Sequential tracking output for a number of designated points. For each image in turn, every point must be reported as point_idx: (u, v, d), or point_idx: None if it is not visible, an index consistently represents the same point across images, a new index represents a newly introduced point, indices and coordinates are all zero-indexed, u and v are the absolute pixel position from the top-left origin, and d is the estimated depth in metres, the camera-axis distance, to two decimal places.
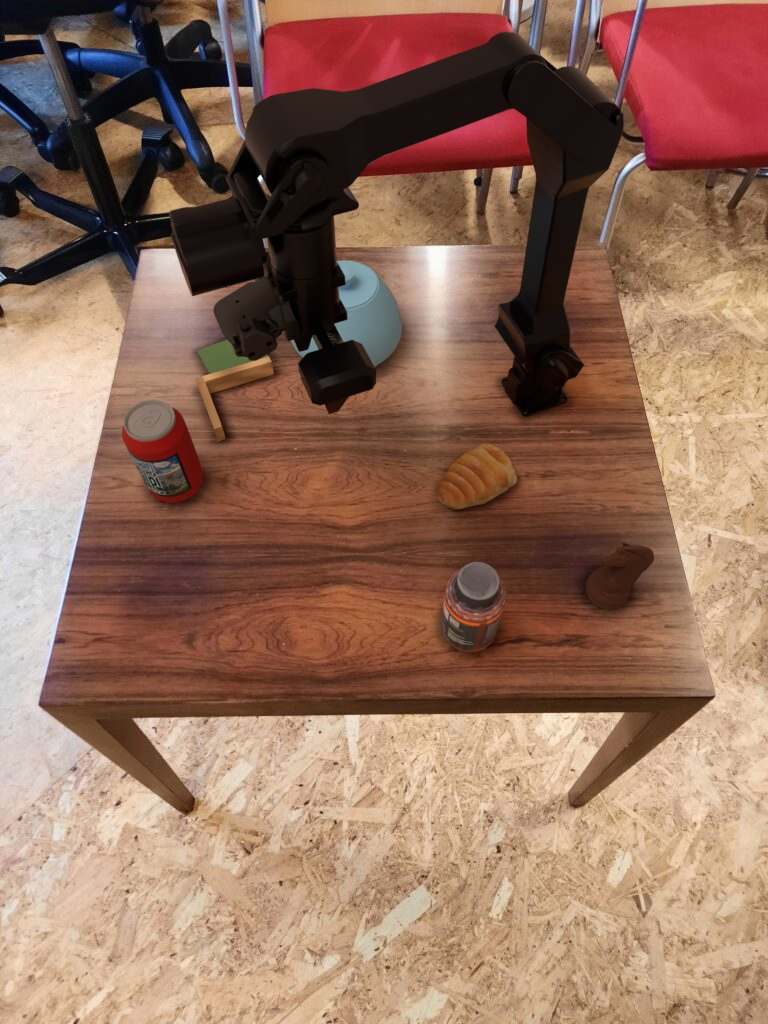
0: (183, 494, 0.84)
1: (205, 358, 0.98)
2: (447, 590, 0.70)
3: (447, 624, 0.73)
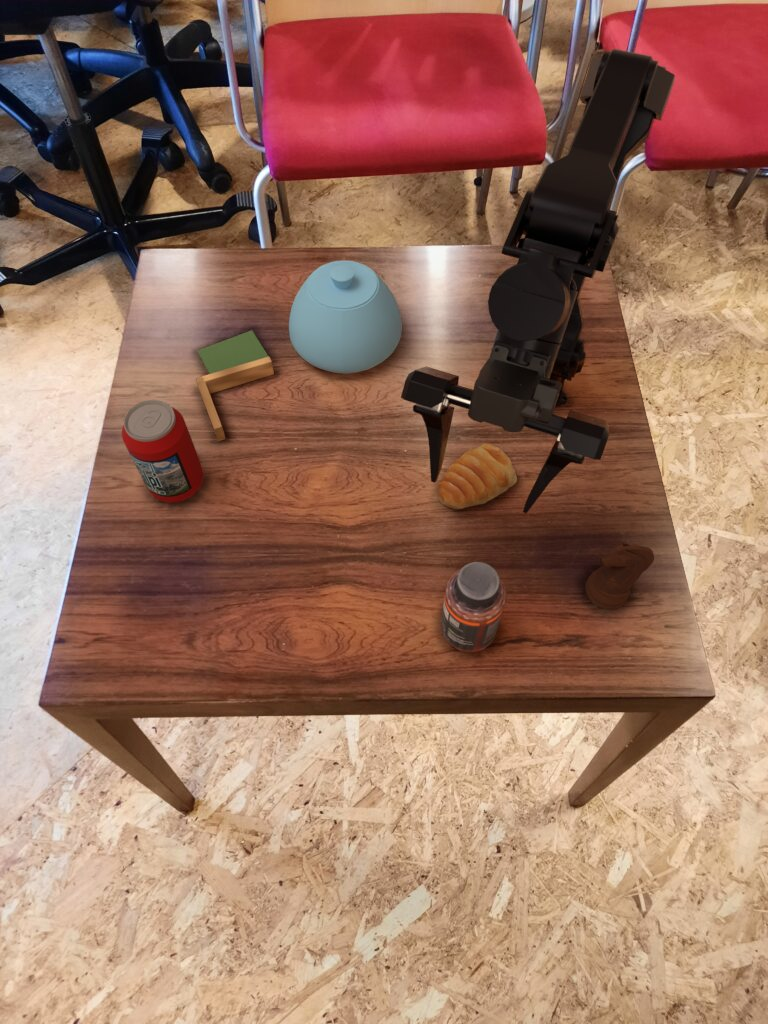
0: (183, 494, 0.84)
1: (205, 358, 0.98)
2: (447, 590, 0.70)
3: (447, 624, 0.73)
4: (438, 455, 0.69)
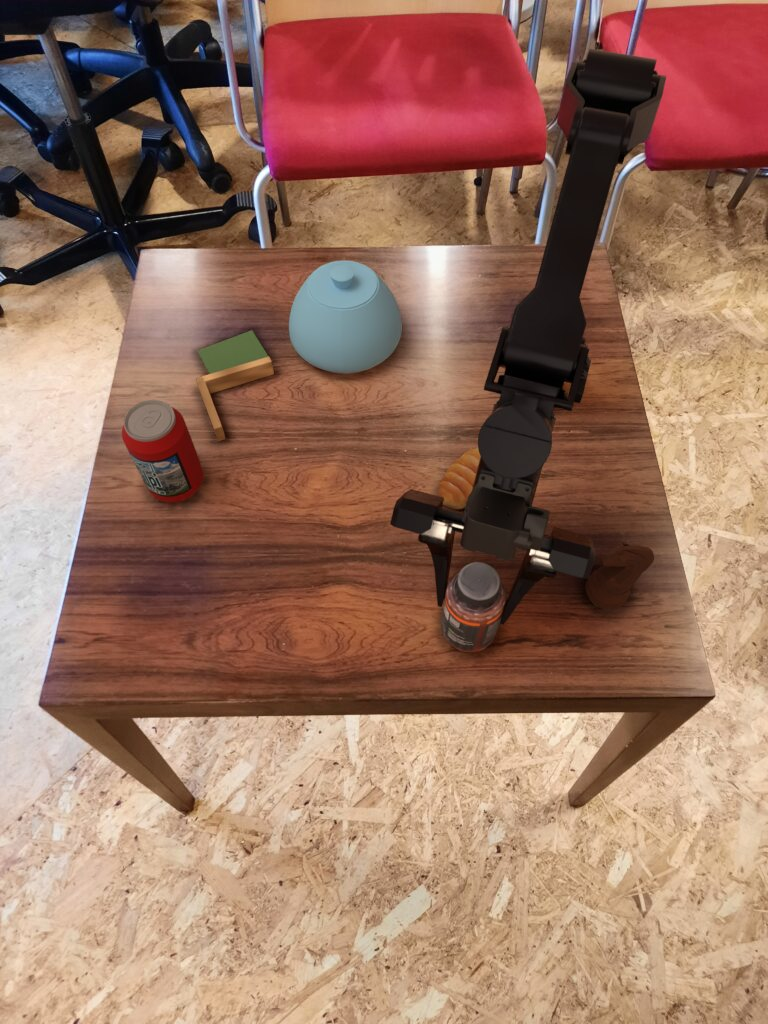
0: (183, 494, 0.84)
1: (205, 358, 0.98)
2: (447, 590, 0.70)
3: (447, 624, 0.73)
4: (444, 581, 0.70)
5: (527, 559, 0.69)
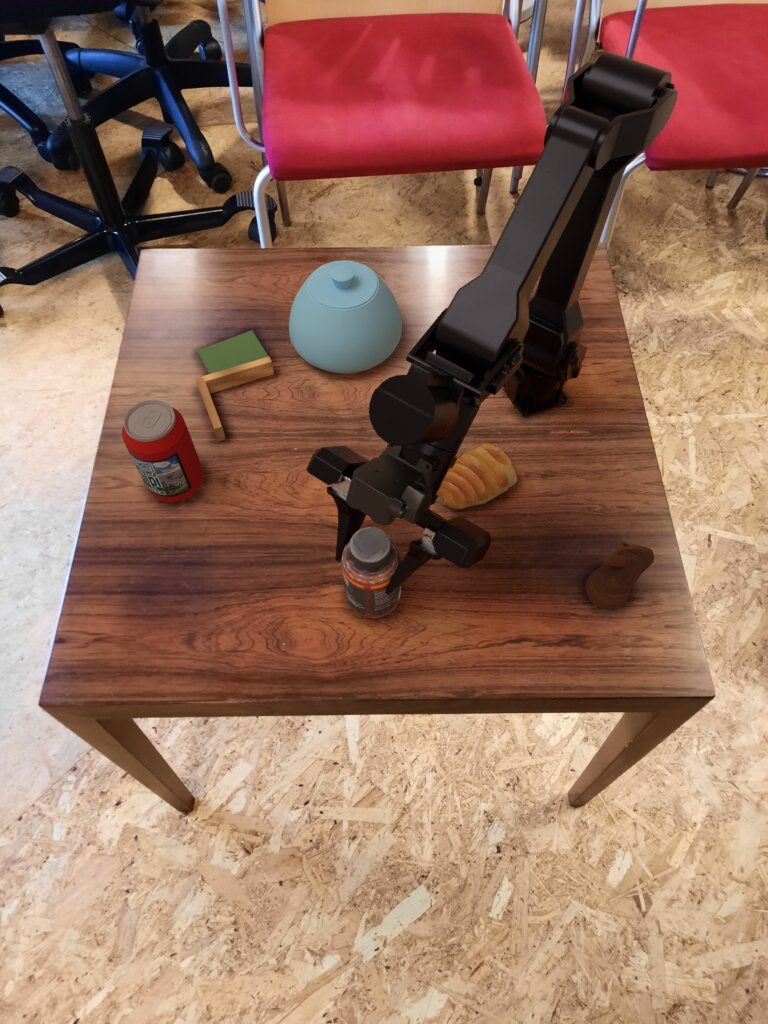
0: (183, 494, 0.84)
1: (205, 358, 0.98)
2: (345, 547, 0.73)
3: (344, 581, 0.76)
4: (344, 537, 0.73)
5: None
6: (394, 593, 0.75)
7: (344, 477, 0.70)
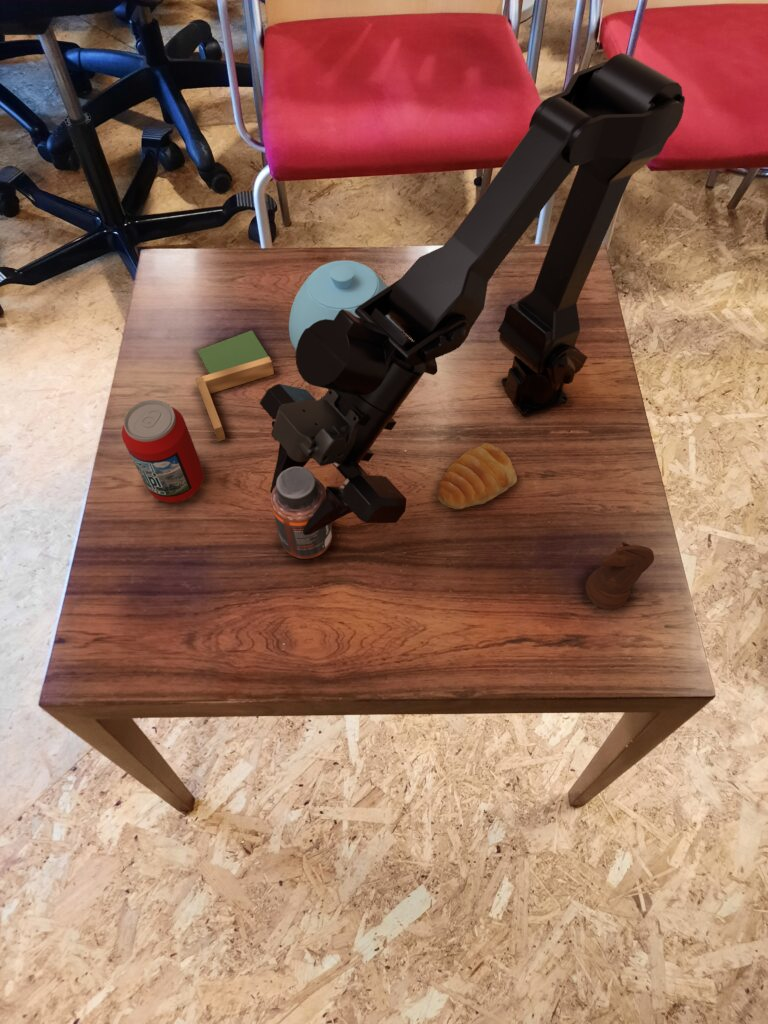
0: (183, 494, 0.84)
1: (205, 358, 0.98)
2: None
3: None
4: (280, 472, 0.77)
5: None
6: (317, 537, 0.79)
7: None
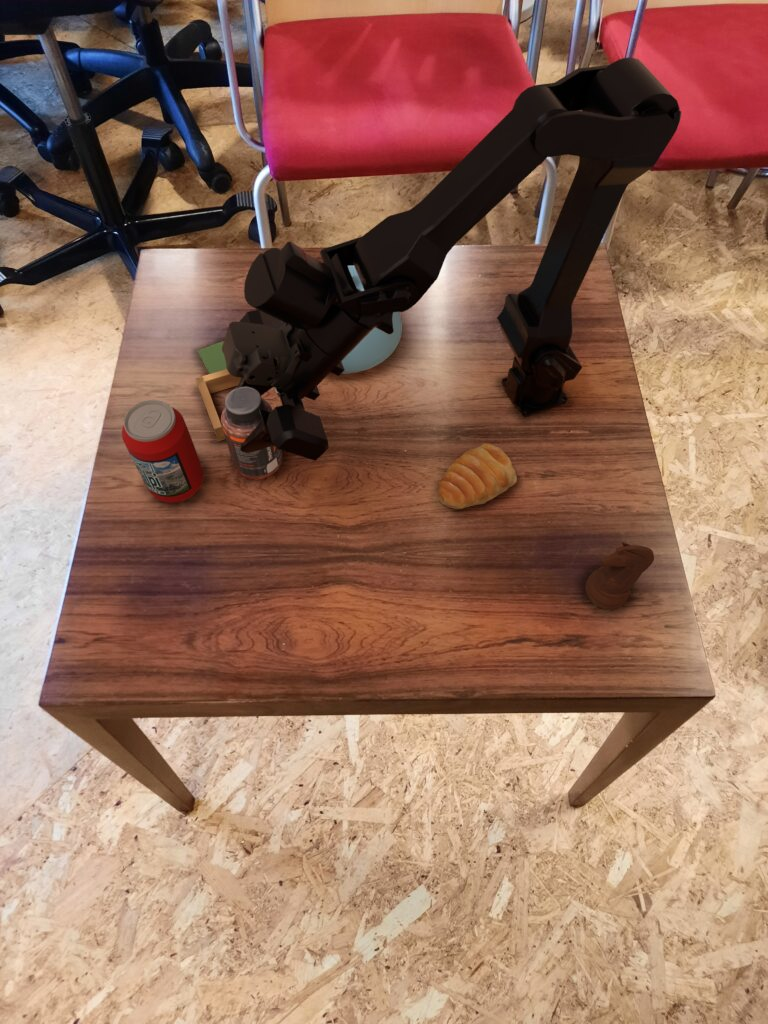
0: (183, 494, 0.84)
1: (205, 358, 0.98)
2: None
3: None
4: None
5: None
6: (257, 459, 0.84)
7: None
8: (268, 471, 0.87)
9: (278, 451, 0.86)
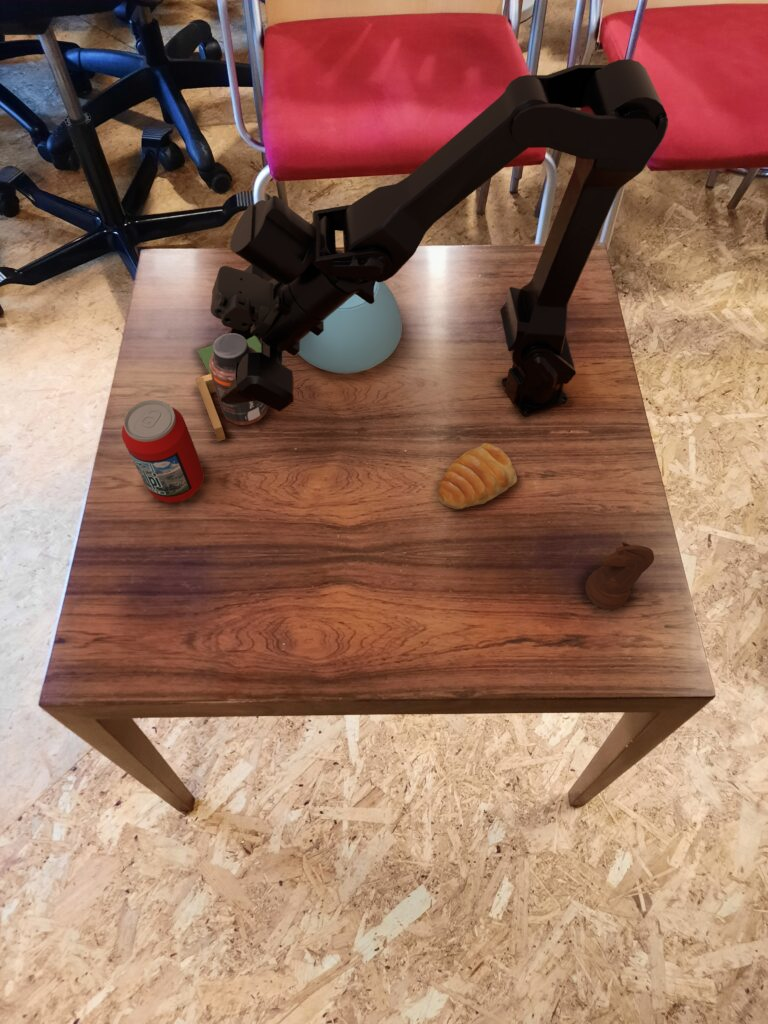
0: (183, 494, 0.84)
1: (205, 358, 0.98)
2: None
3: None
4: None
5: None
6: (237, 405, 0.88)
7: None
8: (249, 419, 0.91)
9: None
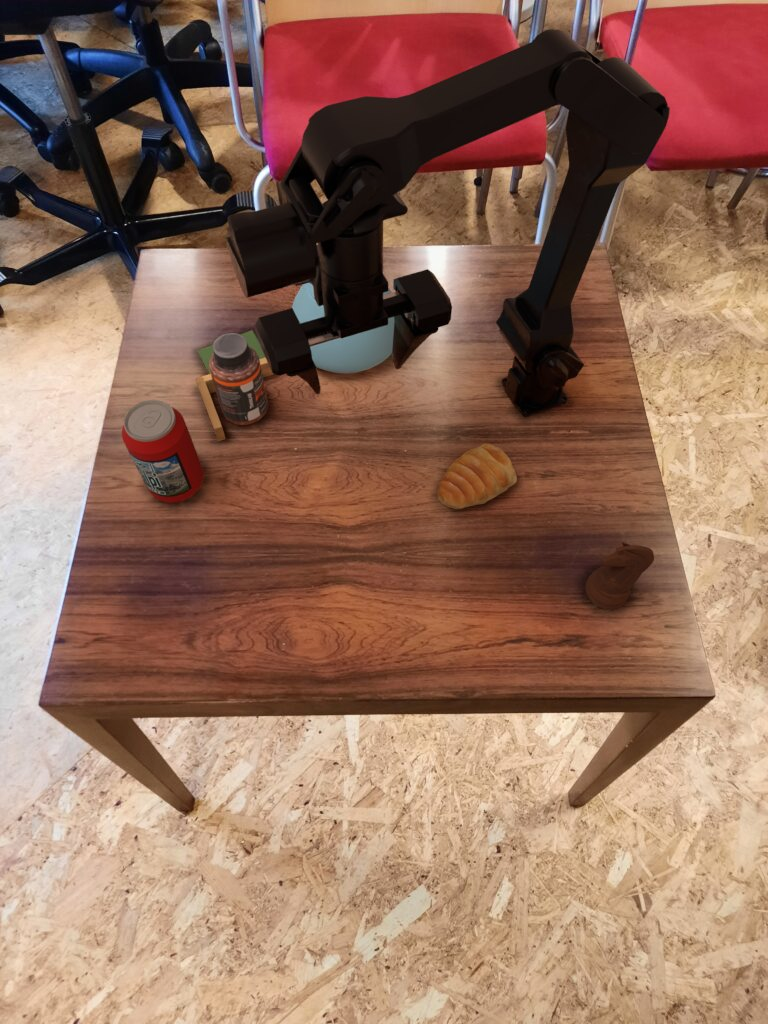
0: (183, 494, 0.84)
1: (205, 358, 0.98)
2: None
3: None
4: (393, 340, 0.78)
5: None
6: (237, 405, 0.88)
7: None
8: (249, 419, 0.91)
9: (261, 401, 0.90)
